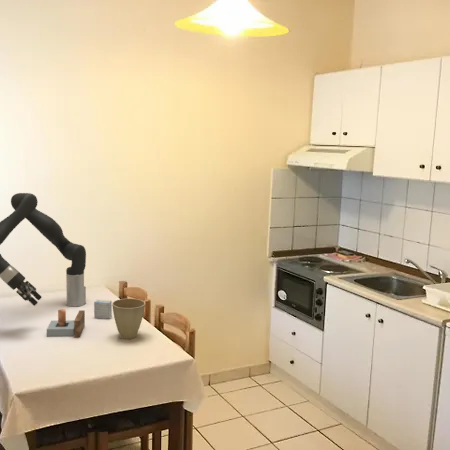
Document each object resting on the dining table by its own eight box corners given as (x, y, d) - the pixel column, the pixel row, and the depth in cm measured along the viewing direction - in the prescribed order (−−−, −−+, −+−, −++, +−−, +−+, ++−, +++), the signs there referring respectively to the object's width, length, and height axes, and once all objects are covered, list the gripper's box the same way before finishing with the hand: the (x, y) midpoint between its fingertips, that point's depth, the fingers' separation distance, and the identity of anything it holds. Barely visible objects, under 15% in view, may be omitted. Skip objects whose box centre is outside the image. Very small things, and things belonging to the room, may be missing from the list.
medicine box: (111, 316, 288) (111, 300, 287) (109, 319, 284) (109, 302, 283) (96, 315, 289) (96, 299, 288) (94, 318, 285) (93, 301, 283)
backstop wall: (74, 337, 258) (74, 320, 256) (79, 326, 272) (79, 310, 271) (79, 337, 258) (79, 320, 257) (84, 326, 273) (84, 310, 271)
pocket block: (46, 337, 258) (46, 329, 257) (51, 328, 270) (51, 320, 269) (73, 337, 259) (73, 329, 259) (77, 328, 271) (77, 320, 271)
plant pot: (113, 343, 253) (113, 308, 250) (111, 331, 267) (111, 299, 264) (146, 340, 257) (147, 307, 254) (142, 329, 271) (143, 297, 268)
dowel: (63, 329, 267) (63, 308, 265) (67, 331, 264) (67, 310, 263) (57, 330, 264) (56, 310, 263) (60, 332, 262) (60, 312, 260)
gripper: (13, 275, 251) (40, 300, 254) (21, 268, 265) (47, 291, 268) (1, 286, 251) (28, 311, 254) (10, 278, 265) (36, 302, 268)
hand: (38, 301), depth 261 cm, fingers open, 8 cm apart
